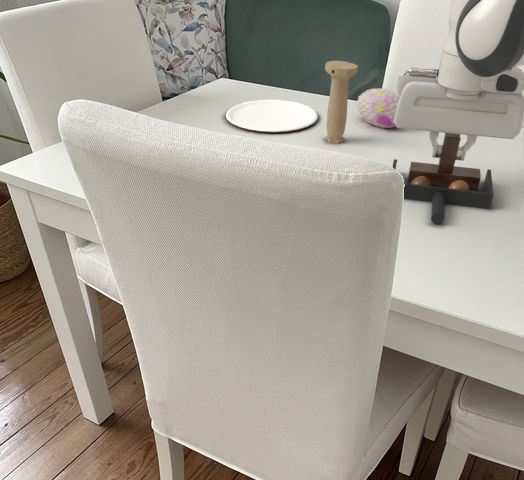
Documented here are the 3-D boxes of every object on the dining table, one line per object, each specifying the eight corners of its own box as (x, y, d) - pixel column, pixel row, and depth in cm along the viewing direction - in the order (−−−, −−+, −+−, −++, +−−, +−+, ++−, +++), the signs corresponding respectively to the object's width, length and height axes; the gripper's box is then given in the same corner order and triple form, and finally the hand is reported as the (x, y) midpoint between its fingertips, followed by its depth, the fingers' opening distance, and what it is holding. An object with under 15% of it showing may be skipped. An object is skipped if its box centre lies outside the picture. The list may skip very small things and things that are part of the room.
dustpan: (486, 185, 104) (490, 169, 102) (491, 234, 90) (496, 216, 88) (391, 174, 107) (394, 159, 105) (382, 220, 93) (384, 203, 91)
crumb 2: (468, 202, 96) (465, 203, 100) (472, 181, 95) (470, 182, 99) (446, 200, 97) (444, 200, 100) (450, 178, 96) (449, 179, 99)
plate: (208, 125, 126) (208, 120, 125) (252, 99, 140) (252, 94, 139) (294, 142, 119) (294, 136, 118) (331, 113, 133) (331, 107, 132)
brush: (475, 185, 102) (489, 134, 96) (476, 194, 99) (490, 143, 93) (408, 177, 104) (417, 127, 99) (406, 186, 101) (416, 135, 96)
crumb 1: (430, 191, 96) (428, 202, 100) (434, 173, 97) (432, 185, 101) (408, 188, 97) (407, 199, 101) (413, 170, 98) (411, 182, 101)
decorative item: (371, 90, 130) (387, 63, 121) (402, 127, 131) (421, 103, 121) (343, 112, 128) (358, 86, 119) (375, 149, 129) (392, 127, 119)
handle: (339, 149, 116) (346, 70, 106) (315, 141, 119) (320, 63, 110) (353, 143, 119) (362, 65, 109) (330, 135, 122) (336, 59, 112)
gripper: (398, 72, 89) (385, 158, 98) (536, 82, 85) (509, 171, 94) (401, 61, 94) (388, 145, 103) (532, 71, 90) (507, 157, 99)
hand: (447, 157), depth 99 cm, fingers closed on brush, 2 cm apart
